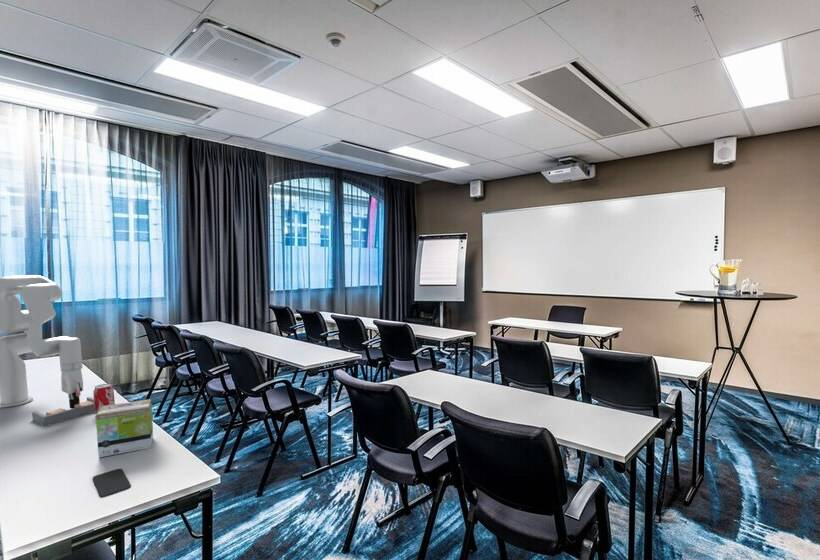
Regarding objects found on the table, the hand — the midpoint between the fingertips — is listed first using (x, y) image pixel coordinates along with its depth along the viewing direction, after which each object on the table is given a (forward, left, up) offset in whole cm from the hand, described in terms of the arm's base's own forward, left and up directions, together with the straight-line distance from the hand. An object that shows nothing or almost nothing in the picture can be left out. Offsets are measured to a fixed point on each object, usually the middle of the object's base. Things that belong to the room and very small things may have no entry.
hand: (74, 407), depth 186 cm
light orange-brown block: (+5, -8, -1) cm, 9 cm away
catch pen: (+5, -4, -1) cm, 6 cm away
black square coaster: (+84, -22, -2) cm, 87 cm away
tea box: (+63, -8, -1) cm, 64 cm away
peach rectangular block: (+4, +2, -1) cm, 5 cm away
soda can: (+18, +4, -1) cm, 19 cm away
